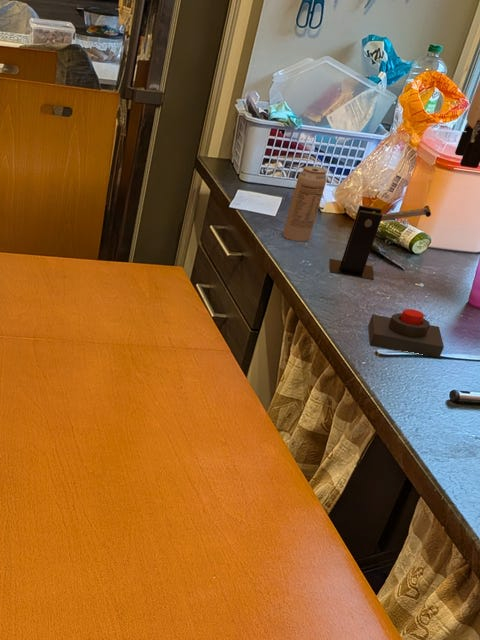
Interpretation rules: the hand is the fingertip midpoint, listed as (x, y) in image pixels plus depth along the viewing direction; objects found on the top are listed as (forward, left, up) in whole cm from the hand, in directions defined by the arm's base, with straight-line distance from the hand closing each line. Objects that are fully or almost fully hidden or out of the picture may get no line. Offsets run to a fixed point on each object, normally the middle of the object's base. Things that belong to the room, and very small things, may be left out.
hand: (465, 161), depth 177 cm
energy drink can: (+26, -17, -24) cm, 39 cm away
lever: (+9, 0, -13) cm, 15 cm away
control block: (+5, +34, -24) cm, 42 cm away
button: (+5, +34, -20) cm, 40 cm away
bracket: (+14, 0, -24) cm, 28 cm away
